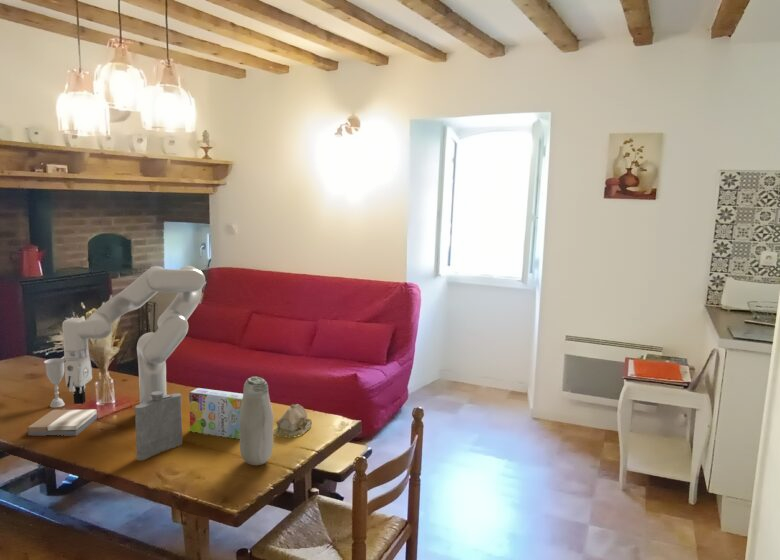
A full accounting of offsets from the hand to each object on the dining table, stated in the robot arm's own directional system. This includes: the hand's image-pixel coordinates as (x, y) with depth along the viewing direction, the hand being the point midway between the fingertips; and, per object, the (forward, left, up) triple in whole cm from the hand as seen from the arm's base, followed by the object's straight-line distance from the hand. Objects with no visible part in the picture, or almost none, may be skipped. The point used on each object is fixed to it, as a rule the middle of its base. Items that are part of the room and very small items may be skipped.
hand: (79, 402), depth 198 cm
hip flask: (-34, +19, -9) cm, 40 cm away
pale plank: (+3, 0, -7) cm, 7 cm away
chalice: (+19, -20, -9) cm, 29 cm away
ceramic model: (-76, +2, -9) cm, 76 cm away
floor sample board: (+6, 0, -9) cm, 10 cm away
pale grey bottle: (-67, +27, -9) cm, 73 cm away
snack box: (-50, +5, -9) cm, 51 cm away
